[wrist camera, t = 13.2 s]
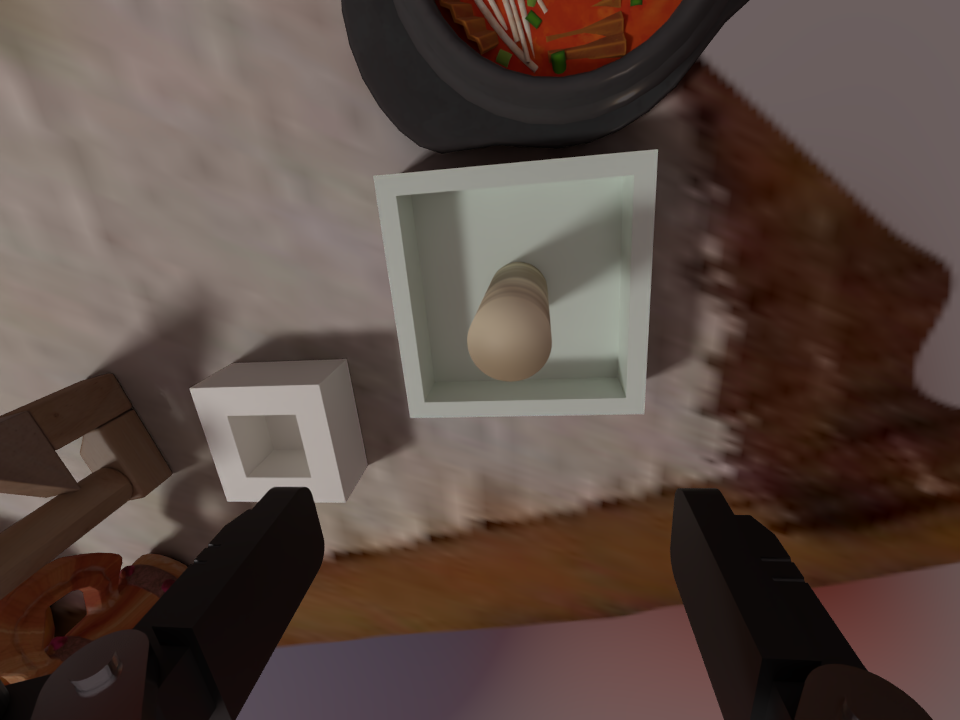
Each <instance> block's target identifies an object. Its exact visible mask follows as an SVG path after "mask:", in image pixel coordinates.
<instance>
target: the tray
mask: <svg viewBox="0 0 960 720" xmlns="http://www.w3.org/2000/svg"><path fill="white" fill-rule="evenodd" d="M657 161H658V149H655V150H644V151H633V152H623V153H612V154H601V155H591V156H580V157H570V158H559V159H548V160H538V161H527V162H516V163H506V164H495V165H484V166H474V167H463V168H452V169H442V170H431V171H421V172H410V173H399V174H389V175H378V176H373V177H374V184H375V190H376V197H377V204H378V210H379V217H380V223H381V230H382V236H383V243H384V249H385V256H386V263H387V269H388V276H389V282H390V289H391V295H392V302H393V308H394V315H395V322H396V328H397V335H398V341H399V348H400V354H401V361H402V367H403V374H404V381H405V387H406V394H407V400H408V407H409V413H410V418H441V417H499V416H558V415H616V414H644V410H645V390H646V371H647V352H648V333H649V314H650V295H651V276H652V256H653V237H654V218H655V199H656V180H657ZM513 262H525V263H529V264H531V265H533V266H535V267H536V268H537V269H538V270H539V271H540V272H541V273H542V274H543V276H544V277H545V280H546V283H547V289H548V300H549V312H550V324H551V336H552V348H551V353H550V356H549V358H548V360H547V362H546V363H545V365H544V366H543V367H542V368H541V370H539V371H538V372H537V373H536V374H534V375H533V376H531V377H529V378H527V379H524V380H520V381H513V382H507V381H500V380H497V379H494V378H492V377H490V376H488V375H486V374H485V373H483V372H482V371H481V370H480V369H479V368H478V367H477V366H476V365H475V363H474V362H473V360H472V358H471V356H470V354H469V351H468V345H467V337H468V331H469V328H470V326H471V323H472V321H473V319H474V317H475V315H476V313H477V310H478V308H479V306H480V304H481V302H482V300H483V298H484V296H485V293H486V291H487V289H488V287H489V285H490V283H491V281H492V279H493V277H494V275H495V274H496V272H497V271H498V270H499V269H500V268H502V267H503V266H505V265H507V264H509V263H513Z"/></svg>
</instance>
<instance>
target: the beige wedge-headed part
mask: <svg viewBox="0 0 960 720" xmlns="http://www.w3.org/2000/svg"><path fill="white" fill-rule="evenodd" d="M131 407H132V404H131V403H130V401H129V399H128V398H127V396H126V394H125V393H124V391H123V389H122V388H121V386H120V384H119V383H118V381H117V379H116V378H115V376H114V375H113V374H104V375H101V376H97V377H93V378H90V379H86V380H83V381H80V382H78V383H75V384H73V385H71V386H68V387H66V388H64V389H61V390H59V391H57V392H54V393H52V394H50V395H48V396H45V397H43V398H41V399H38V400H36V401H34V402H31V403H29V404H27V405H25V406H22V407H20V408H18V409H15V410H13V411H11V412H8V413H6V414H4V415H1V416H0V493H7V494H17V495H26V496H36V497H45V498H47V497H51V496H56V495H58V496H56V497H55V498H53V499H52V500H50V501H49V502H47V503H46V504H44V505H43V506H41V507H39V508H38V509H36V510H35V511H33V512H32V513H30V514H29V515H27V516H26V517H24V518H23V519H21V520H20V521H18V522H16V523H15V524H13V525H12V526H10V527H9V528H7V529H6V530H4V531H3V532H1V533H0V600H1V599H2V598H4V597H5V596H6V595H7V594H9V593H10V592H11V591H13V590H14V589H15V588H16V587H18V586H19V585H20V584H22V583H23V582H24V581H26V580H27V579H28V578H29V577H31V576H32V575H33V574H35V573H36V572H37V571H38V570H40V569H41V568H42V567H44V566H45V565H46V564H47V563H49V562H50V561H51V560H53V559H54V558H55V557H56V556H58V555H59V554H60V553H62V552H63V551H64V550H65V549H67V548H68V547H69V546H71V545H72V544H73V543H74V542H76V541H77V540H78V539H80V538H81V537H82V536H83V535H85V534H86V533H87V532H89V531H90V530H91V529H92V528H94V527H95V526H96V525H98V524H99V523H100V522H101V521H103V520H104V519H105V518H107V517H108V516H109V515H110V514H112V513H113V512H114V511H116V510H117V509H118V508H119V507H121V506H122V505H123V504H125V503H126V502H127V501H129V500H134V499H139V498H143V497H145V496H146V495H148V494H149V493H150V492H151V491H153V490H154V489H155V488H156V487H158V486H159V485H160V484H161V483H163V482H164V481H165V480H166V479H168V478H169V477H170V476H171V475H172V472H171V470H170V468H169V467H168V465H167V463H166V462H165V460H164V458H163V457H162V455H161V453H160V452H159V450H158V449H157V447H156V445H155V444H154V442H153V440H152V439H151V437H150V435H149V434H148V432H147V430H146V429H145V427H144V425H143V424H142V422H141V420H140V419H139V417H138V415H137V414H136V412H135V411H134V410H130V409H131ZM81 436H83V440H82V445H81V450H80V455H81V457H82V458H83V460H84V461H85V463H86V464H87V466H88V467H89V469H90V470H91V472H92V474H90V475H89V476H87V477H86V478H84V479H82V480H81V481H79V482H78V483H77V482H76V481H75V479H74V478H73V476H72V475H71V473H70V472H69V470H68V469H67V468H66V466H65V465H64V463H63V462H62V460H61V459H60V457H59V456H58V454H57V453H56V452H55V450H58V449H60V448H62V447H63V446H65V445H67V444H69V443H71V442H72V441H74V440H76V439H78V438H80V437H81Z"/></svg>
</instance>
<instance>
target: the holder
mask: <svg viewBox="0 0 960 720" xmlns="http://www.w3.org/2000/svg"><path fill="white" fill-rule="evenodd" d="M189 389H190V392H191V395H192V398H193V401H194V404H195V407H196V410H197V413H198V416H199V419H200V422H201V425H202V428H203V431H204V433H205V436H206V439H207V442H208V445H209V448H210V451H211V454H212V457H213V460H214V463H215V466H216V469H217V472H218V475H219V478H220V481H221V484H222V487H223V490H224V493H225V496H226V499H227V502H259V501H260V500H261V498H262V497H263V496H264V495H265V494H266V493H267V492H268V491H269V490H270V489H271V488H273V487H307V488H309V489H310V491H311V493H312V495H313V499H314V502H320V503H346V501H347V500H348V498H349V496H350V495H351V493H352V491H353V490H354V488H355V486H356V485H357V483H358V481H359V480H360V478H361V476H362V475H363V473H364V471H365V470H366V468H367V466H368V463H367V458H366V453H365V448H364V443H363V438H362V433H361V428H360V423H359V418H358V413H357V408H356V403H355V398H354V393H353V388H352V383H351V377H350V372H349V367H348V362H347V359H331V360H303V361H276V362H248V363H231V364H230V365H228V366H226V367H225V368H223V369H221V370H220V371H218V372H216V373H214V374H213V375H211V376H209V377H208V378H206V379H204V380H203V381H201V382H199V383H197V384H196V385H194V386H192V387H191V388H189Z"/></svg>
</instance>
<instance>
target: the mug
mask: <svg viewBox="0 0 960 720" xmlns="http://www.w3.org/2000/svg"><path fill="white" fill-rule="evenodd" d="M121 565H122V557H121V556H120V555H119V554H114V553H88V554H79V555H74V556H67V557H62V558H58V559H56V560H54V561H52V562H50V563H48V564H46V565H45V566H44V567H42V568H41V569H40V570H38V571H37V572H36V573H35V574H33V575H32V576H31V577H29V578H28V579H27V580H26V581H24V582H23V583H22V584H20V585H19V586H18V587H16V588H15V589H14V590H13V591H11V592H10V593H9V594H7V595H6V596H5V597H4V598H2V599H1V600H0V677H3V678H5V679H6V680H7V681H8V682H9V683H10V684H13V683H17V682H21V681H25V680H29V679H33V678H37V677H41V676H45V675H49V674H52V673H53V672H54V671H55V670H56V669H57V668H58V667H59V666H60V665H61V664H62V663H63V662H64V661H65V660H66V659H67V658H69V657H70V656H71V655H73V654H74V653H75V652H76V651H78V650H79V649H81V648H82V647H84V646H85V645H87V644H89V643H91V642H92V641H94V640H96V639H98V638H100V637H102V636H105V635H107V634H110V633H113V632H117V631H120V630H127V629H133V628H134V627H135V625H136V624H137V623H138V622H139V621H140V620H141V619H142V618H143V617H144V615H145V614H146V613H147V612H148V611H149V610H150V609H151V608H152V607H153V605H154V604H155V603H156V602H157V601H158V600H159V599H160V598H161V597H162V595H163V594H164V593H165V592H166V591H167V590H168V589H169V588H170V587H171V585H172V584H173V583H174V582H175V581H176V580H177V579H178V578H179V577H180V575H181V574H182V573H183V572H184V571H185V570H186V569H187V568H188V567H187V566H186V565H184V564H182V563H181V562H179V561H177V560H174V559H172V558H169V557H166V556H162V555H159V554H146V555H142V556H141V557H140V558H138V559H137V560H136V561H135V562H134V563H133V564H132V565H131V566H126V567H124V568H123V569H122V570H121ZM120 570H121V571H120ZM75 590H80V591H82V592H83V595H84V600H85V605H86V610H87V615H86V616H85V617H84V618H83V619H82V620H81V621H80V622H79V623H78V624H77V625H75V626H74V627H73V628H72V629H71V630H70V631H69V632H68V633H67V634H66V635H65V636H64V637H55V638H53V639H52V640H51V642H50V644H49V645H48V646H47V647H46V648H45V649H44V648H43V647H44V636H45V622H46V610H47V608H48V607H49V606H50V605H52V604H53V603H55V602H56V601H58V600H59V599H61V598H62V597H64V596H65V595H66V594H68V593H70V592H71V591H75Z"/></svg>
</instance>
